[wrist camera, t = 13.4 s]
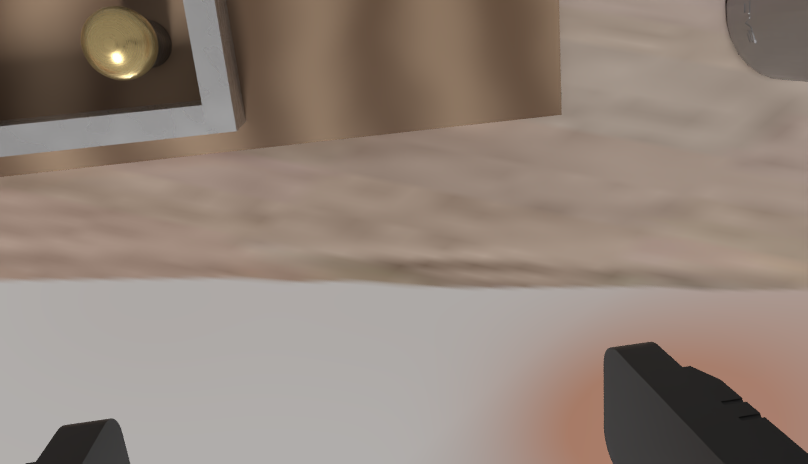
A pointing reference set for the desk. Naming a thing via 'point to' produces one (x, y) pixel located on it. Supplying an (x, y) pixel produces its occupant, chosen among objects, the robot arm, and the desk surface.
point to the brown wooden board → (292, 71)
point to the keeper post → (124, 43)
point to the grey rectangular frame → (153, 121)
